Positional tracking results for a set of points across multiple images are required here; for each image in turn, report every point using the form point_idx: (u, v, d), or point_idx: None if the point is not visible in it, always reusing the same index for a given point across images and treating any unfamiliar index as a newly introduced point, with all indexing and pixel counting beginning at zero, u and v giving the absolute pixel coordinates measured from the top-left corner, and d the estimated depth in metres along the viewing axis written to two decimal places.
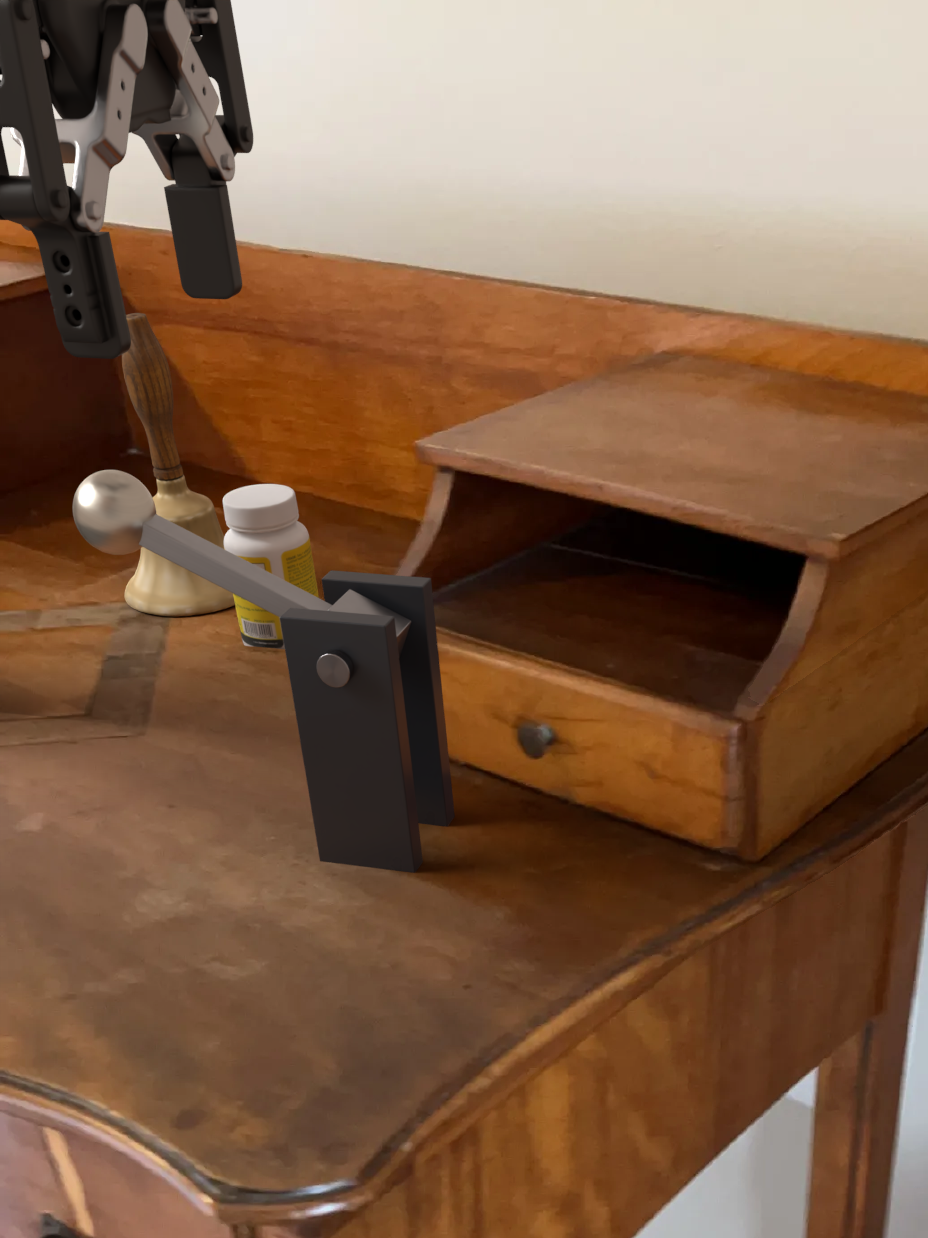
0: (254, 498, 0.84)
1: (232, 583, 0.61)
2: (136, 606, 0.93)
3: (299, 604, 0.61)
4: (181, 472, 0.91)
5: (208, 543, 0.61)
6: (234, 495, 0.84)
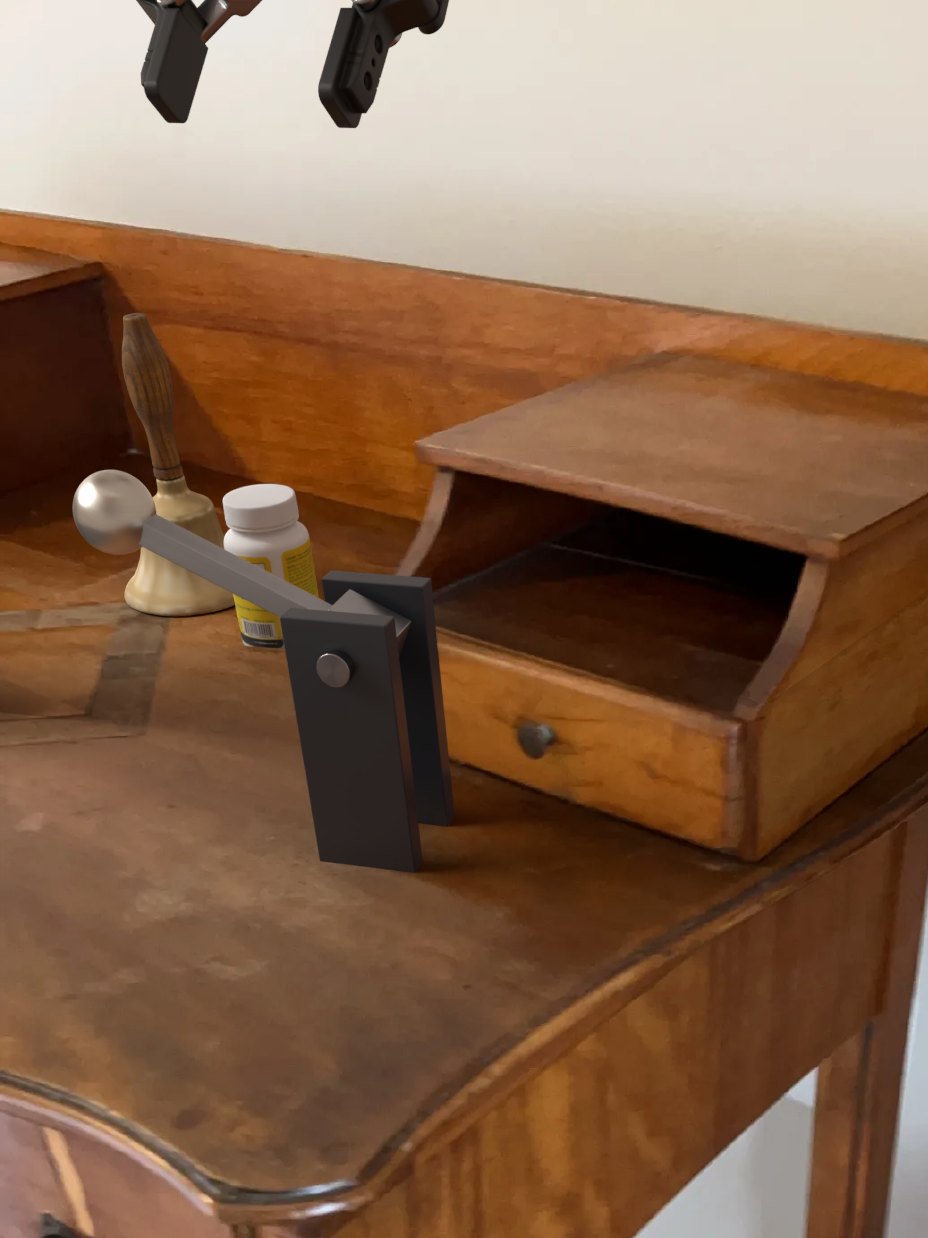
0: (254, 498, 0.84)
1: (232, 583, 0.61)
2: (136, 606, 0.93)
3: (299, 604, 0.61)
4: (181, 472, 0.91)
5: (208, 543, 0.61)
6: (234, 495, 0.84)
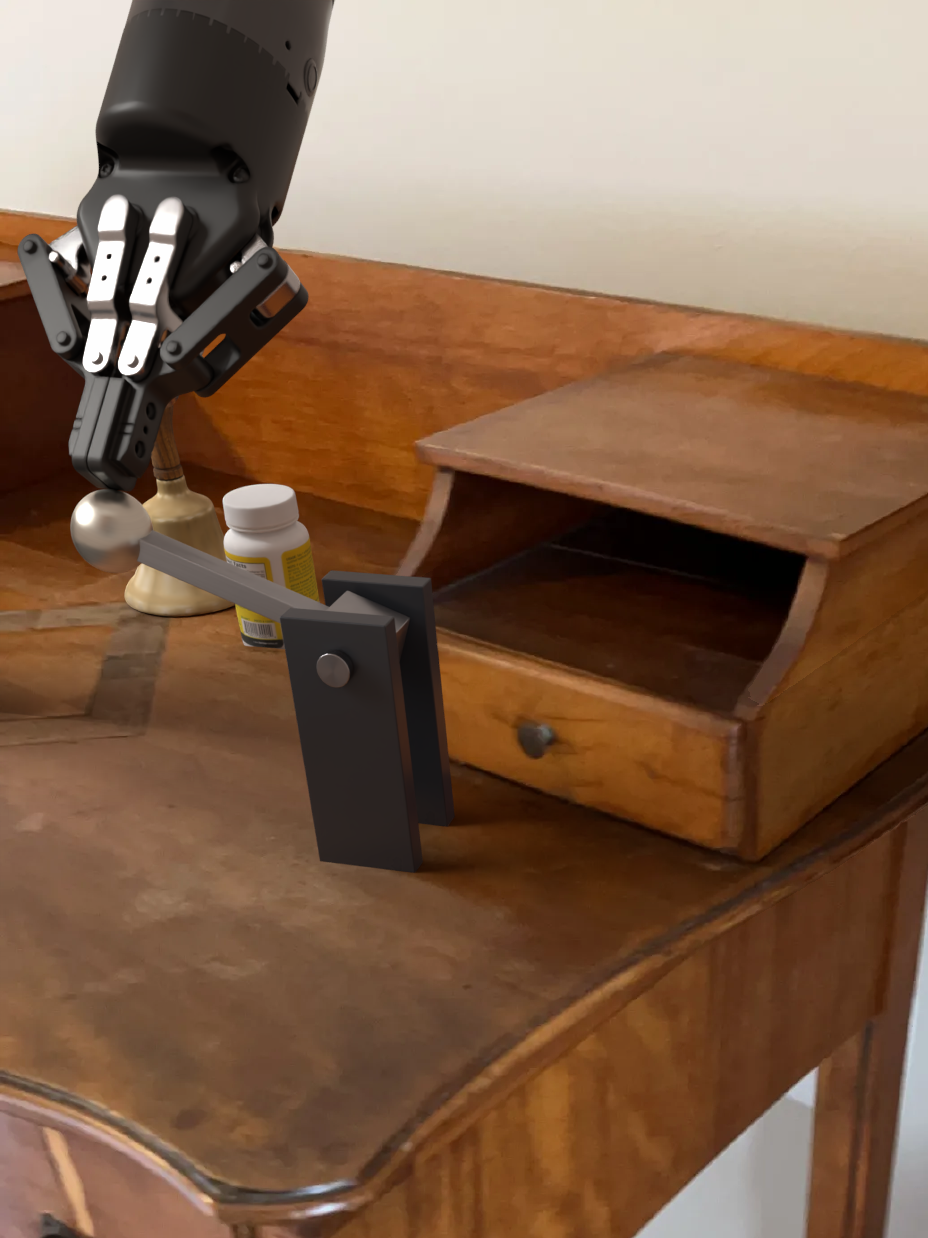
0: (254, 498, 0.84)
1: (231, 592, 0.61)
2: (136, 606, 0.93)
3: None
4: (181, 472, 0.91)
5: (204, 555, 0.61)
6: (234, 495, 0.84)
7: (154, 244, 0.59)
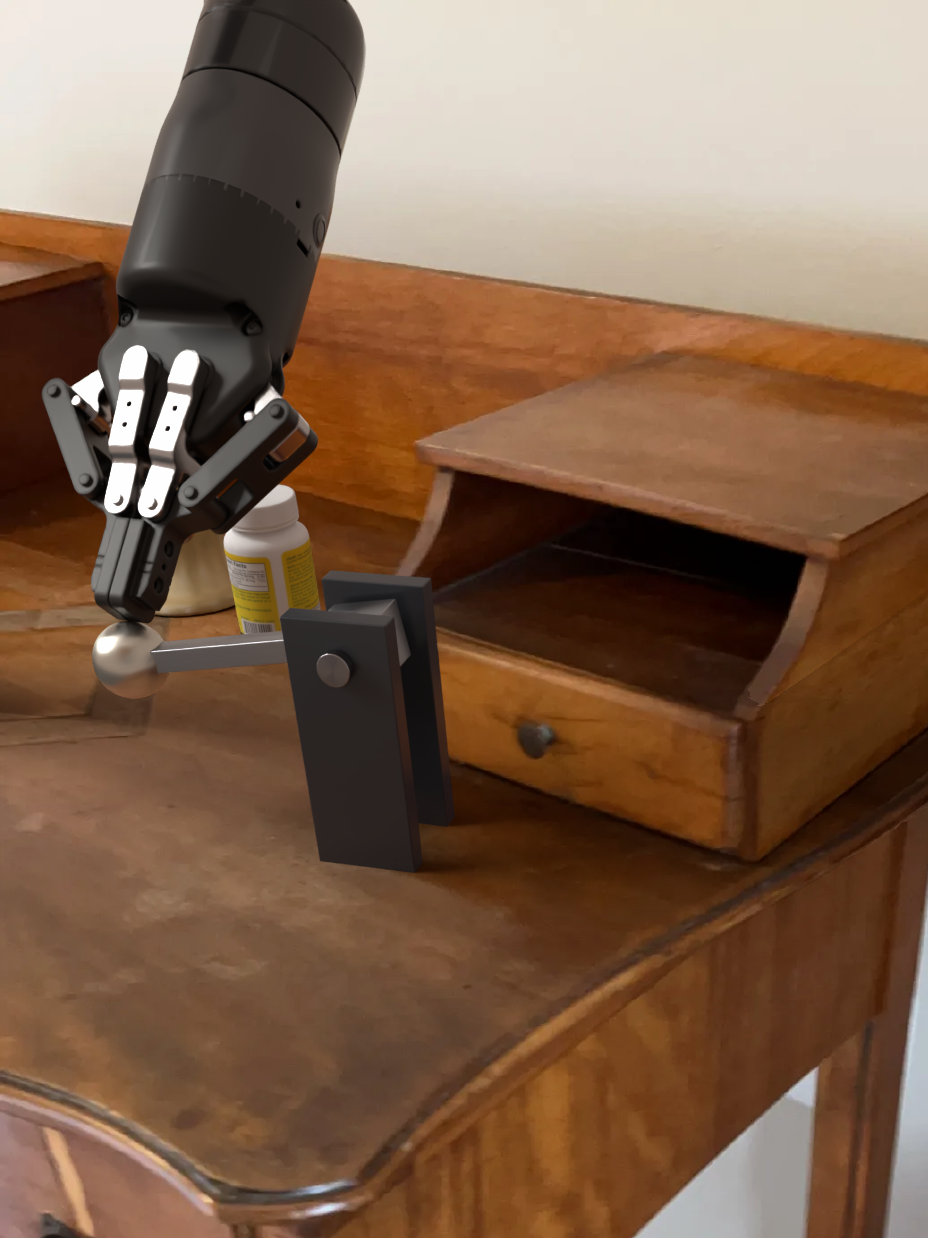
0: None
1: (238, 657, 0.63)
2: None
3: None
4: None
5: (208, 638, 0.64)
6: None
7: (172, 393, 0.62)
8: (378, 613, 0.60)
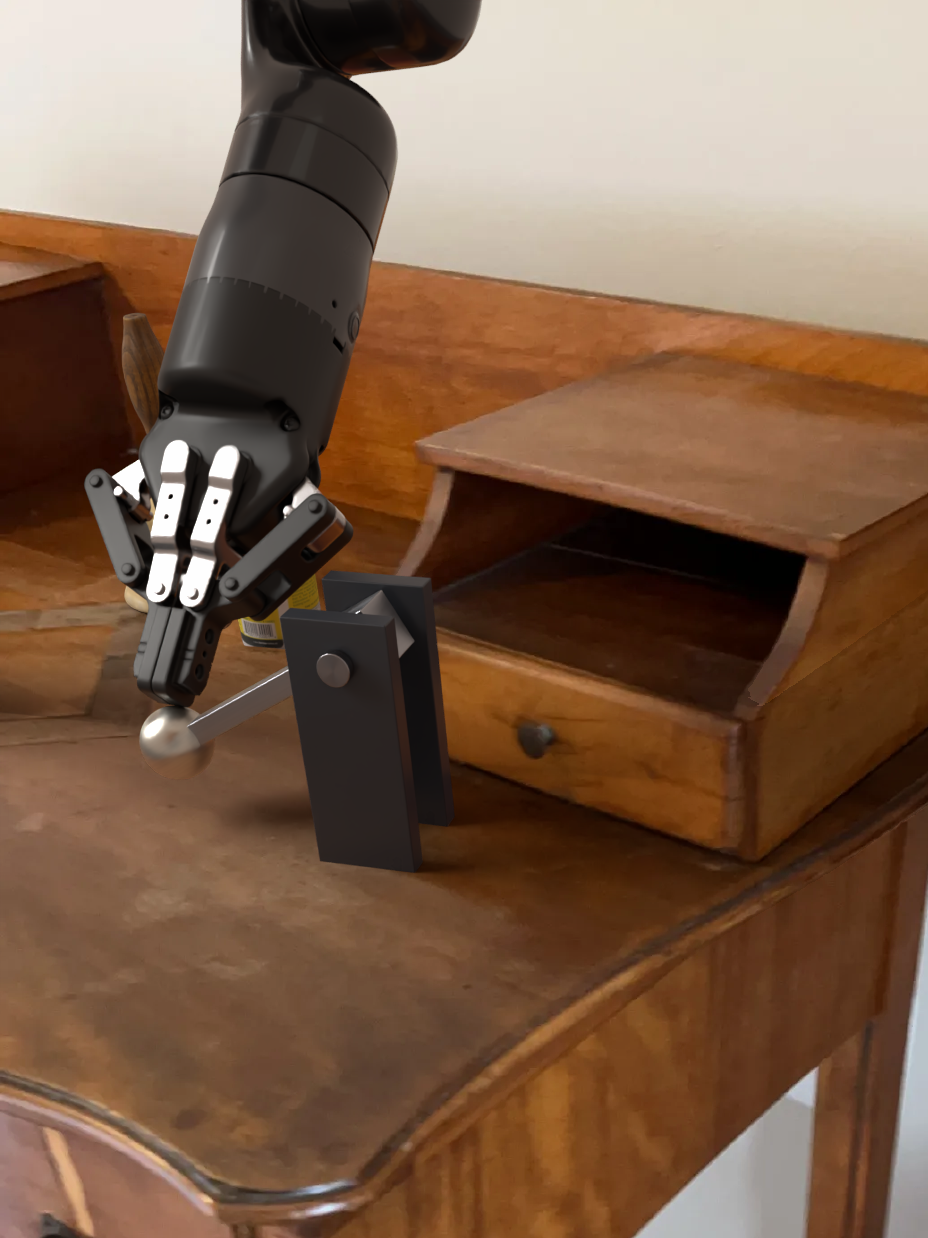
0: None
1: (261, 700, 0.64)
2: (136, 606, 0.93)
3: None
4: None
5: (234, 695, 0.65)
6: None
7: (212, 487, 0.65)
8: (364, 605, 0.60)
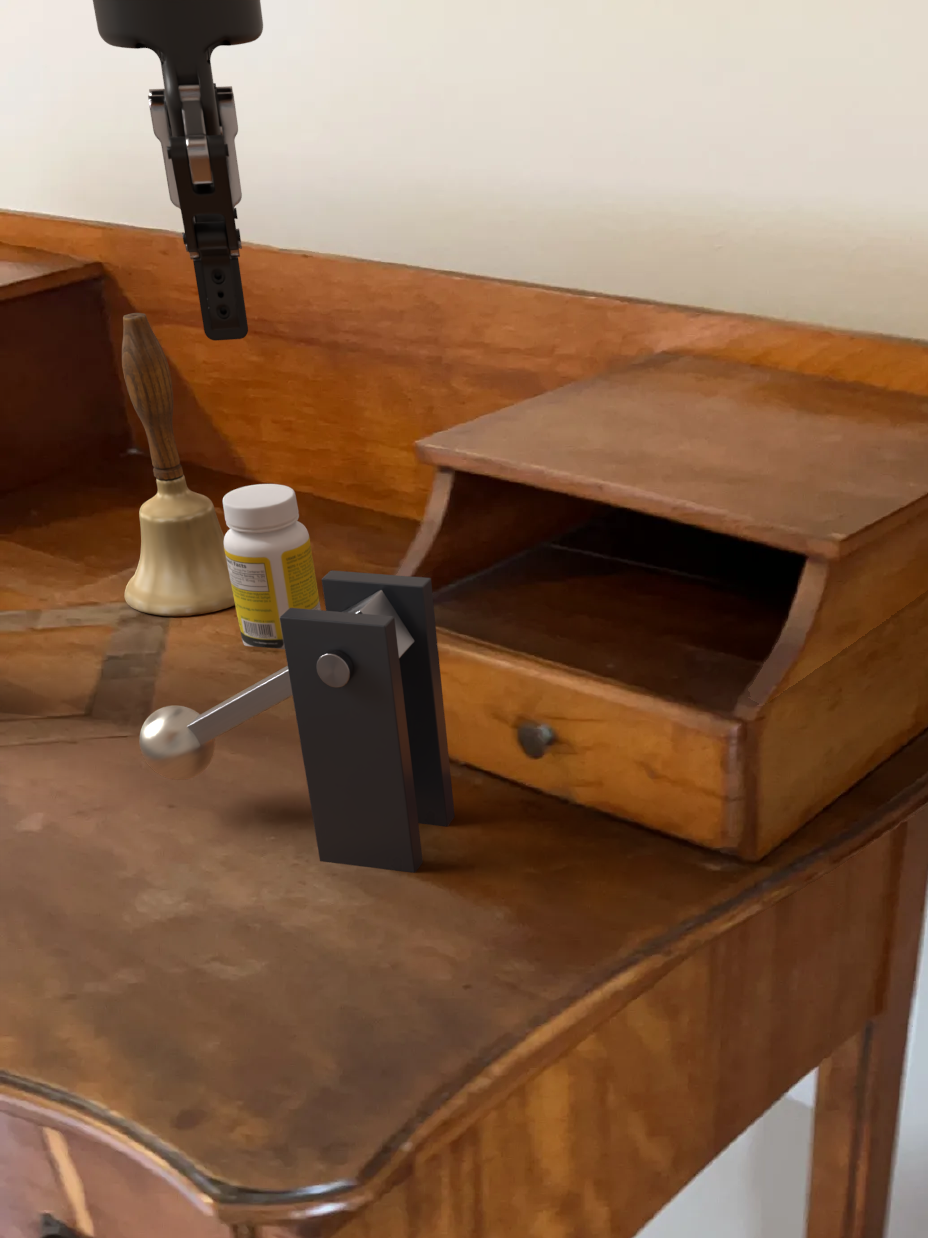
0: (254, 498, 0.84)
1: (261, 700, 0.64)
2: (136, 606, 0.93)
3: None
4: (181, 472, 0.91)
5: (234, 695, 0.65)
6: (234, 495, 0.84)
7: None
8: (364, 605, 0.60)
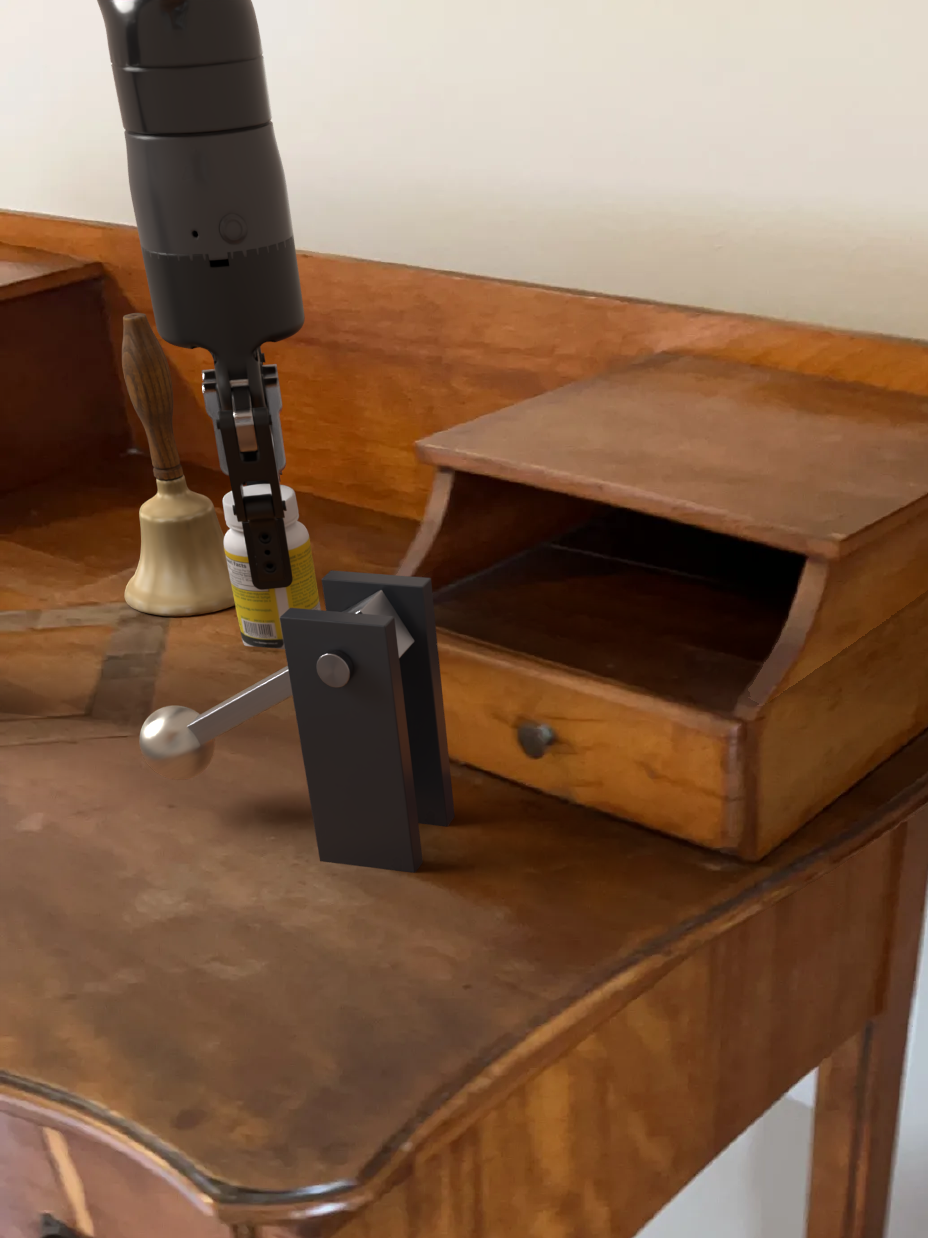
0: None
1: (261, 700, 0.64)
2: (136, 606, 0.93)
3: None
4: (181, 472, 0.91)
5: (234, 695, 0.65)
6: None
7: None
8: (364, 605, 0.60)
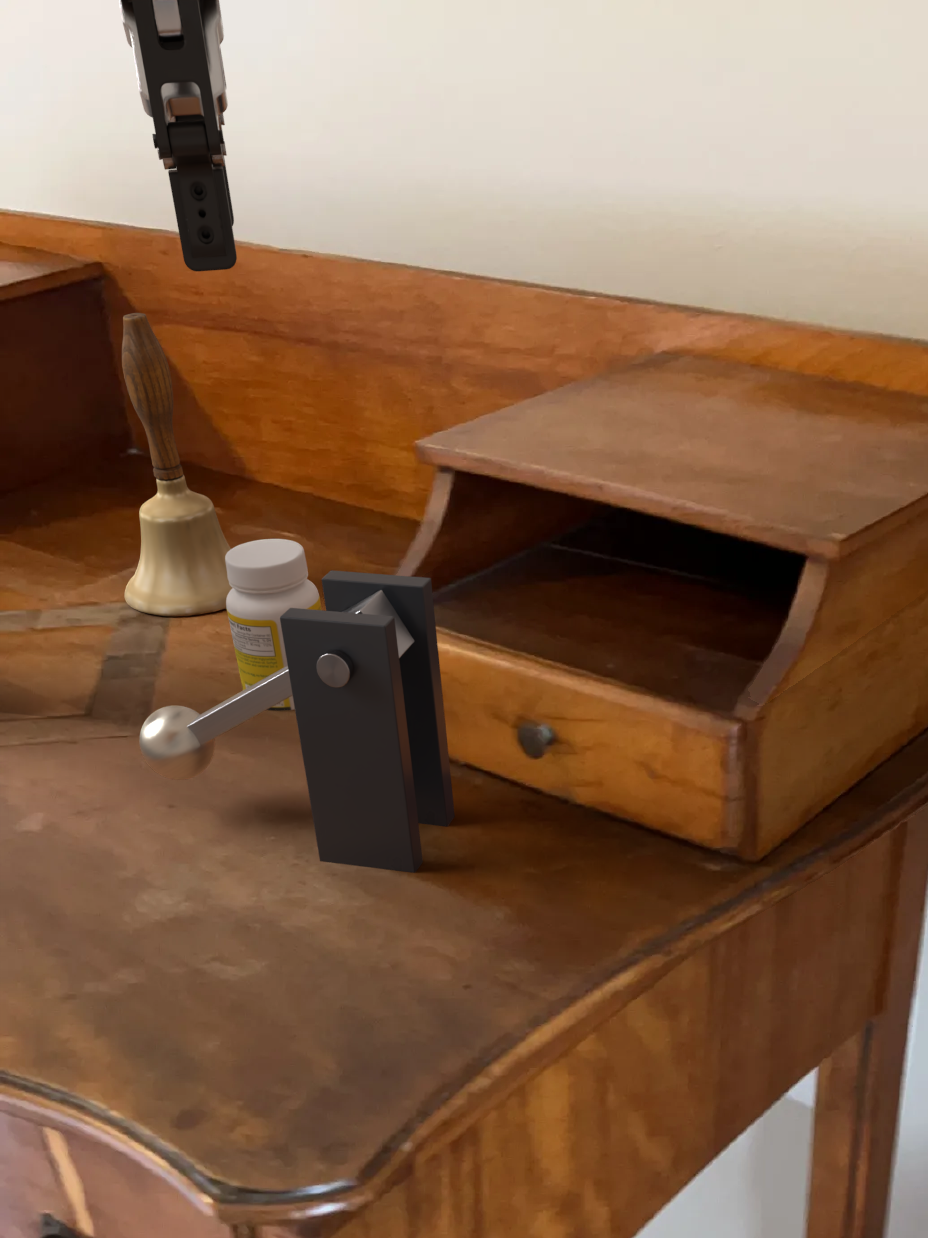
0: (259, 555, 0.77)
1: (261, 700, 0.64)
2: (136, 606, 0.93)
3: None
4: (181, 472, 0.91)
5: (234, 695, 0.65)
6: (238, 551, 0.77)
7: None
8: (364, 605, 0.60)
